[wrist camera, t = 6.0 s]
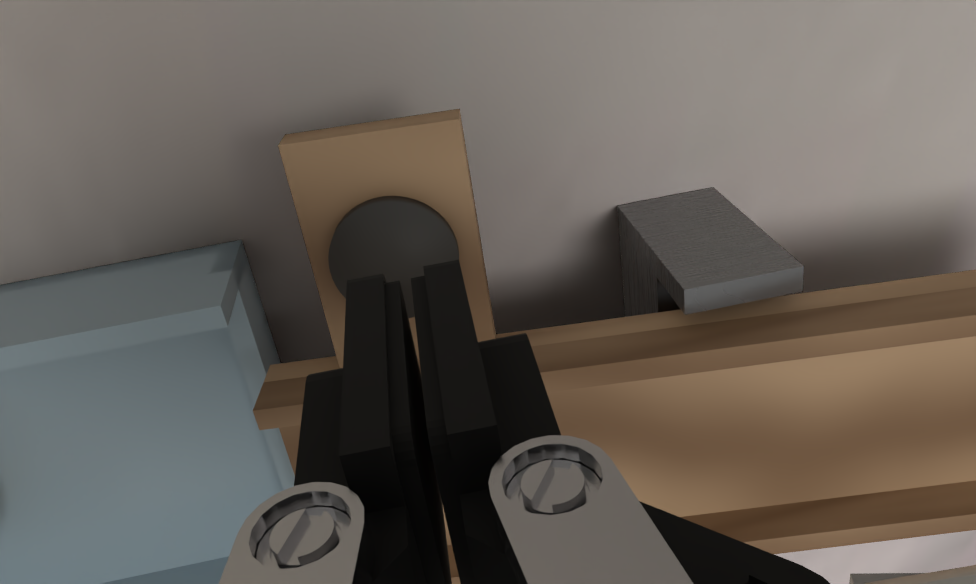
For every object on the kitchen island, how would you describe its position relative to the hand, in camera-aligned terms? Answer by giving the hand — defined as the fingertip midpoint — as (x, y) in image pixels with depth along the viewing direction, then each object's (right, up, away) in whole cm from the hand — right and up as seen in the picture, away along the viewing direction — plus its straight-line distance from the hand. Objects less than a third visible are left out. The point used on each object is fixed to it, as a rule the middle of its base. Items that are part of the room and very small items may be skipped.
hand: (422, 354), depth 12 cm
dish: (-12, -4, +13) cm, 18 cm away
